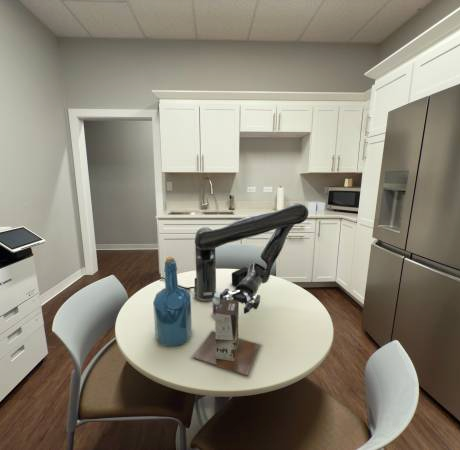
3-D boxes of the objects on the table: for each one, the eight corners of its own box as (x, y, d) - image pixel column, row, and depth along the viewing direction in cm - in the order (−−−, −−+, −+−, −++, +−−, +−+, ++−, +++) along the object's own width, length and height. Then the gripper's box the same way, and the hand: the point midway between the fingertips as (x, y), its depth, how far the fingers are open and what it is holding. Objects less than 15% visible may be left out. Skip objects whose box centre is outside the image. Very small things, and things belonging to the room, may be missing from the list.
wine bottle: (153, 328, 95) (148, 254, 88) (187, 321, 99) (184, 249, 93) (158, 352, 82) (152, 267, 76) (197, 342, 87) (194, 262, 80)
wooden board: (193, 358, 80) (193, 356, 80) (212, 332, 92) (212, 331, 92) (247, 376, 73) (247, 374, 73) (259, 345, 85) (259, 344, 85)
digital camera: (239, 288, 126) (239, 275, 125) (231, 285, 130) (231, 272, 129) (251, 281, 134) (252, 269, 132) (244, 278, 137) (244, 266, 136)
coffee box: (235, 362, 78) (235, 315, 74) (215, 358, 79) (214, 313, 75) (239, 342, 86) (239, 300, 83) (221, 340, 88) (220, 298, 84)
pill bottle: (212, 312, 105) (212, 291, 103) (225, 311, 106) (224, 290, 104) (213, 319, 100) (212, 298, 98) (226, 319, 101) (226, 297, 98)
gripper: (231, 276, 101) (213, 294, 87) (265, 282, 95) (253, 302, 81) (231, 293, 103) (214, 313, 88) (264, 300, 97) (252, 323, 83)
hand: (232, 308), depth 85 cm, fingers open, 8 cm apart
